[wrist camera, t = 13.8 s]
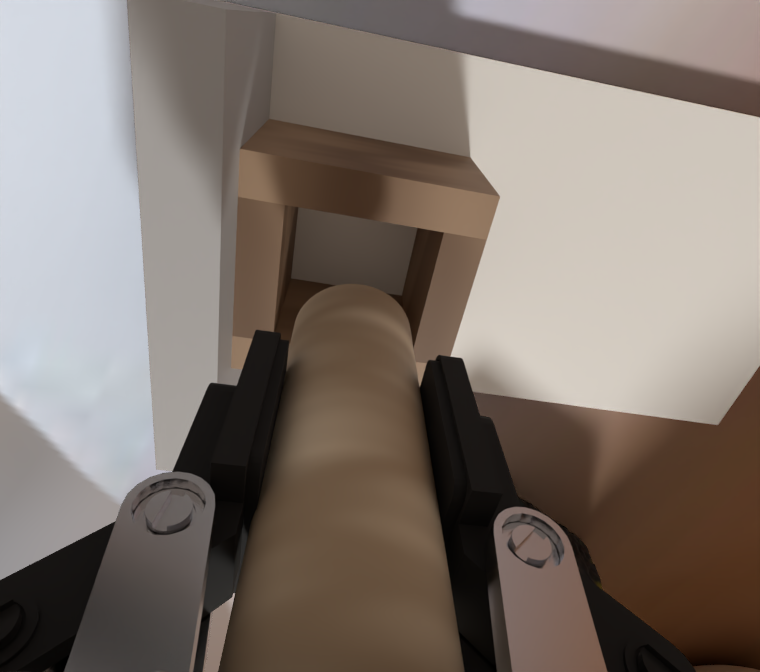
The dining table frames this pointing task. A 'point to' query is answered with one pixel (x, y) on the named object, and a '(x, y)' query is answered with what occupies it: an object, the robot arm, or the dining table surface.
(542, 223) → the board
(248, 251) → the brown square wooden frame
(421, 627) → the dowel
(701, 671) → the vase
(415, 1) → the dining table surface
